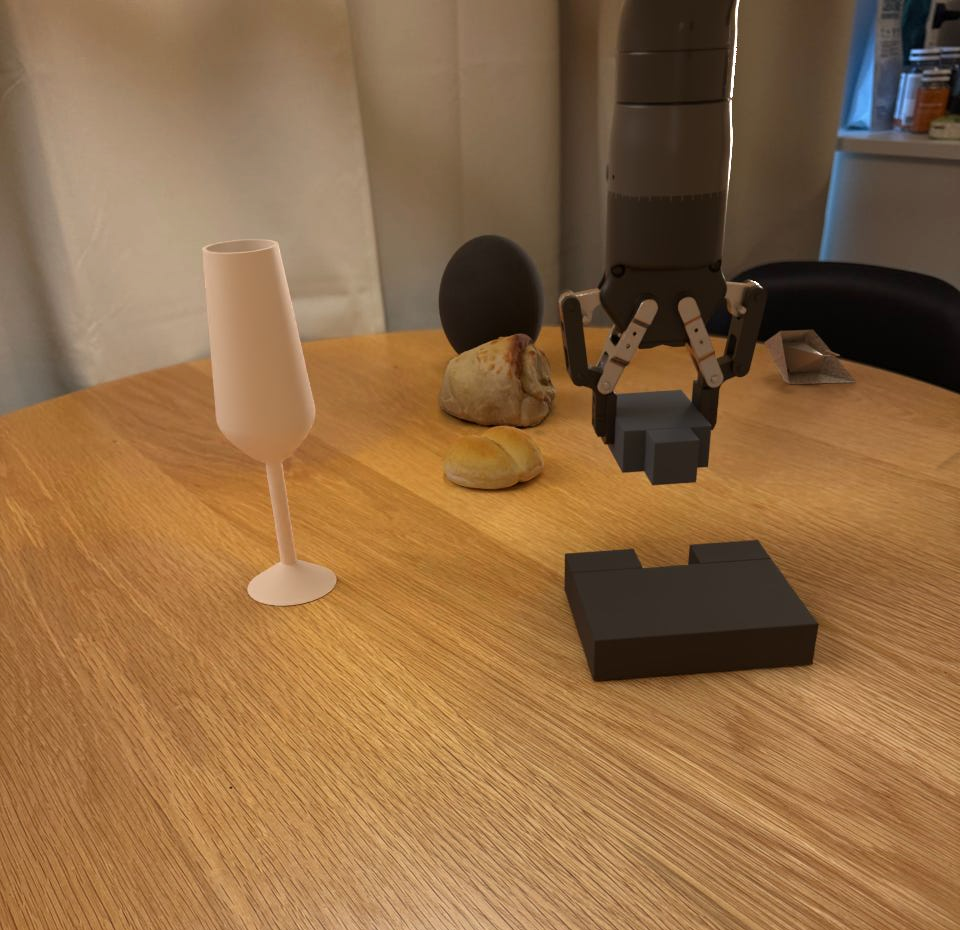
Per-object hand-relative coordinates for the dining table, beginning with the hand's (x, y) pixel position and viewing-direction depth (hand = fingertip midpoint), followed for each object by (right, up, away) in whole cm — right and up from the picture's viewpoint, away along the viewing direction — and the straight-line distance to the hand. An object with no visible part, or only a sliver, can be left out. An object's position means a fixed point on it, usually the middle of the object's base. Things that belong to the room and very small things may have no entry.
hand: (653, 437), depth 72 cm
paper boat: (+23, +14, +40) cm, 48 cm away
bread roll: (-11, +1, +21) cm, 24 cm away
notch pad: (+1, -13, -4) cm, 14 cm away
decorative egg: (-11, +18, +49) cm, 53 cm away
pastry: (-10, +10, +36) cm, 39 cm away
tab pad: (0, -1, -1) cm, 2 cm away
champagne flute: (-26, -10, +4) cm, 29 cm away
